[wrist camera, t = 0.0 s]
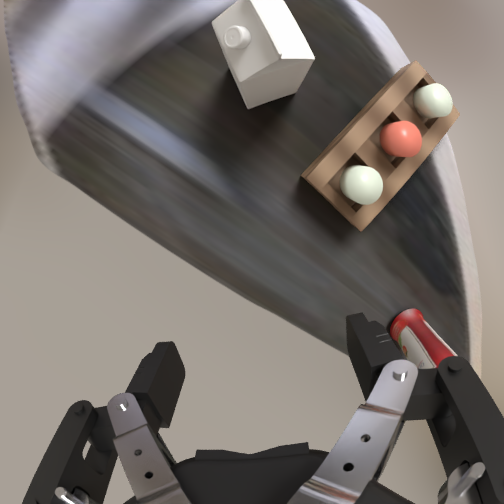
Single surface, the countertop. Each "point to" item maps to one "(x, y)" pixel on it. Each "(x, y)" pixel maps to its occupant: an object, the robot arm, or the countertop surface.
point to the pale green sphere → (361, 184)
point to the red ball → (401, 139)
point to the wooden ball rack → (378, 145)
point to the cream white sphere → (432, 101)
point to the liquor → (419, 340)
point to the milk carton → (263, 49)
